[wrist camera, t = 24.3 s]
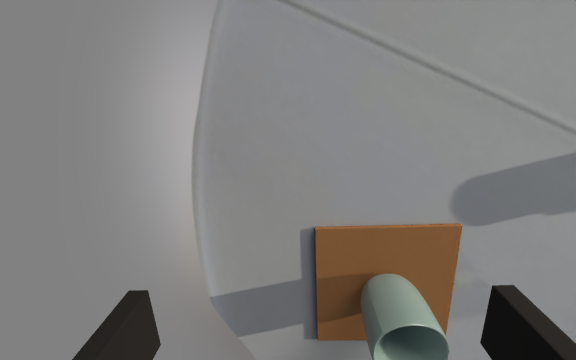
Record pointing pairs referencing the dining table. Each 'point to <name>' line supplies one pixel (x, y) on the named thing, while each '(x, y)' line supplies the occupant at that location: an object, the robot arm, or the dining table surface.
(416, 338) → the cup
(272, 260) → the dining table surface
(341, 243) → the cork mat
